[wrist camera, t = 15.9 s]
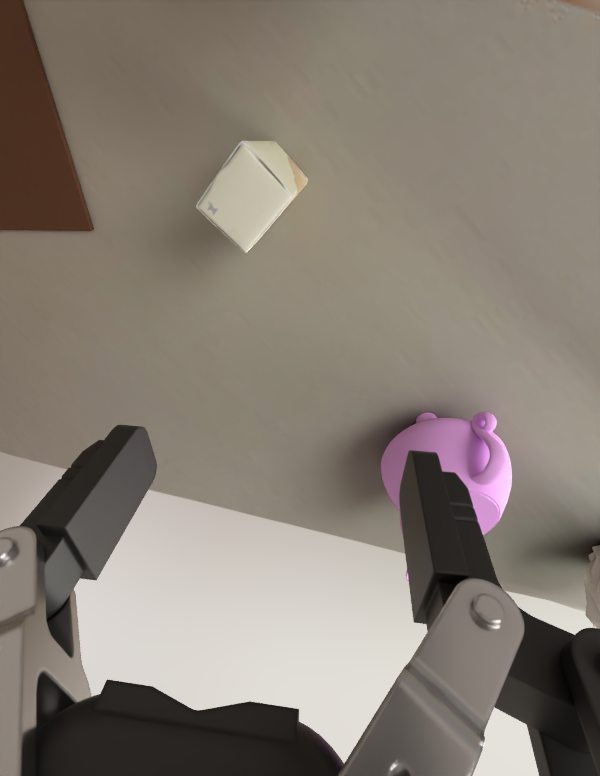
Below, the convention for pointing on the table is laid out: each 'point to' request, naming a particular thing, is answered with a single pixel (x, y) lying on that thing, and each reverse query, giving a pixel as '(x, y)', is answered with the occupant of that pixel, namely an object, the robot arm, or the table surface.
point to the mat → (32, 138)
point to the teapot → (456, 460)
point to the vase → (593, 587)
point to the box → (251, 191)
